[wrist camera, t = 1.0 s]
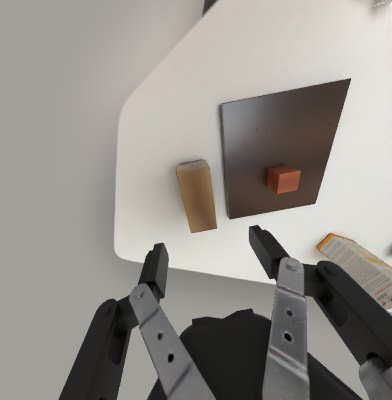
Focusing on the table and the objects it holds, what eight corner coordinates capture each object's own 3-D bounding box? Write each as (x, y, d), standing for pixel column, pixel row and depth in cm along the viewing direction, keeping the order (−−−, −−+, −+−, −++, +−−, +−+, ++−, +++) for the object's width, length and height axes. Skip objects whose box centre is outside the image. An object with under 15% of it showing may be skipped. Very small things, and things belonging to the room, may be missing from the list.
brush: (189, 213, 26) (191, 233, 21) (177, 162, 21) (176, 173, 16) (211, 209, 26) (217, 228, 21) (203, 157, 21) (209, 166, 16)
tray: (219, 104, 18) (221, 103, 17) (341, 80, 18) (351, 78, 17) (227, 215, 27) (229, 219, 26) (310, 200, 27) (315, 203, 26)
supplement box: (314, 247, 33) (383, 312, 22) (330, 232, 31) (415, 295, 20) (338, 254, 35) (413, 317, 24) (354, 240, 33) (445, 302, 22)
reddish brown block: (267, 168, 22) (279, 174, 19) (287, 164, 22) (301, 170, 19) (266, 186, 23) (277, 194, 20) (284, 182, 23) (297, 190, 20)
